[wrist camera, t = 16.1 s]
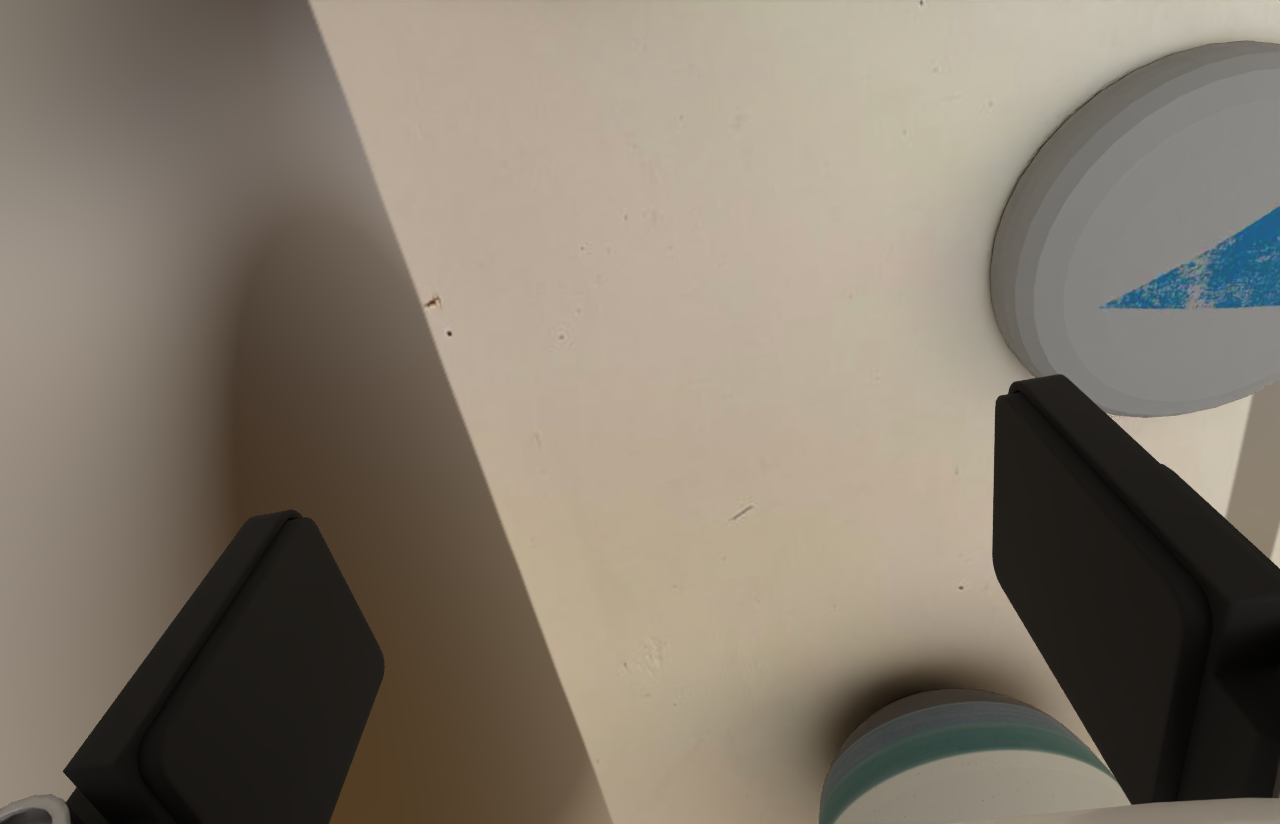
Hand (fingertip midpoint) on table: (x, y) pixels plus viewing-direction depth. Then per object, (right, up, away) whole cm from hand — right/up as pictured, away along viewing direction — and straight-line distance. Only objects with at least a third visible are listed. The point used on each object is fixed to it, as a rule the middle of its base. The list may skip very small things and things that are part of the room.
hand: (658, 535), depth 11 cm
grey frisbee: (+27, +11, +29) cm, 41 cm away
